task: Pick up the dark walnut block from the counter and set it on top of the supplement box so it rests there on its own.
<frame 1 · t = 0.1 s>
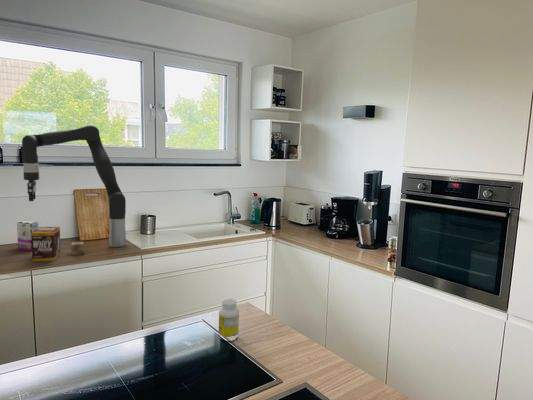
hand: (32, 200, 223), 29 cm above the countertop, tool pointing down, fingers open, 8 cm apart
supplement bottle: (228, 338, 133), on the countertop
walnut block: (77, 253, 225), on the countertop
candy bar box: (28, 249, 229), on the countertop
supplement box: (46, 257, 215), on the countertop
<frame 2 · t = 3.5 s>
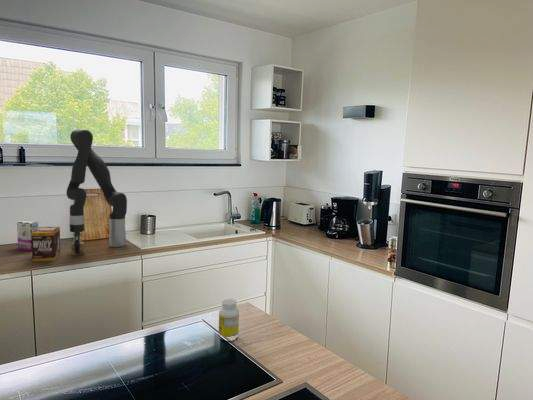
hand: (77, 251, 225), 1 cm above the countertop, tool pointing down, fingers closed on walnut block, 6 cm apart
walnut block: (77, 253, 225), on the countertop, touching gripper
everything else where it was.
when the fingers open (19 cm above the countertop, at t = 9.7 s): walnut block drops 2 cm, resting on supplement box.
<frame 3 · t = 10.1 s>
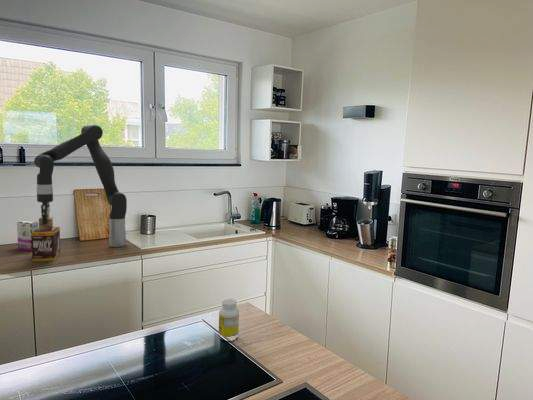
hand: (45, 222, 213), 19 cm above the countertop, tool pointing down, fingers open, 8 cm apart
walnut block: (46, 229, 213), point 15 cm above the countertop, touching supplement box
supplement box: (46, 257, 215), on the countertop, touching walnut block
everything else where it was.
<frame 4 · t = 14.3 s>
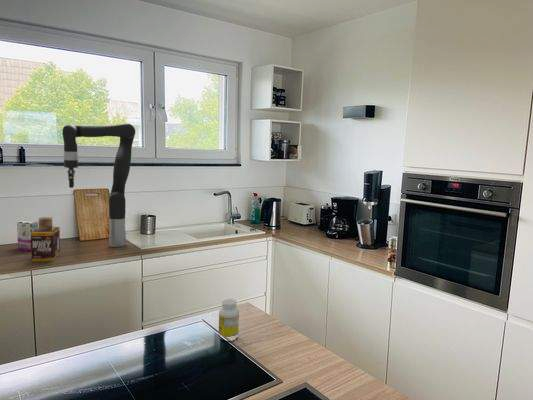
hand: (71, 186, 235), 36 cm above the countertop, tool pointing down, fingers open, 8 cm apart
nothing on the countertop moved.
at the end: walnut block inside the target area on the supplement box (0.3 cm from its centre), point 15.8 cm above the supplement box's base; walnut block tilted 0°; the gripper is holding nothing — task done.
